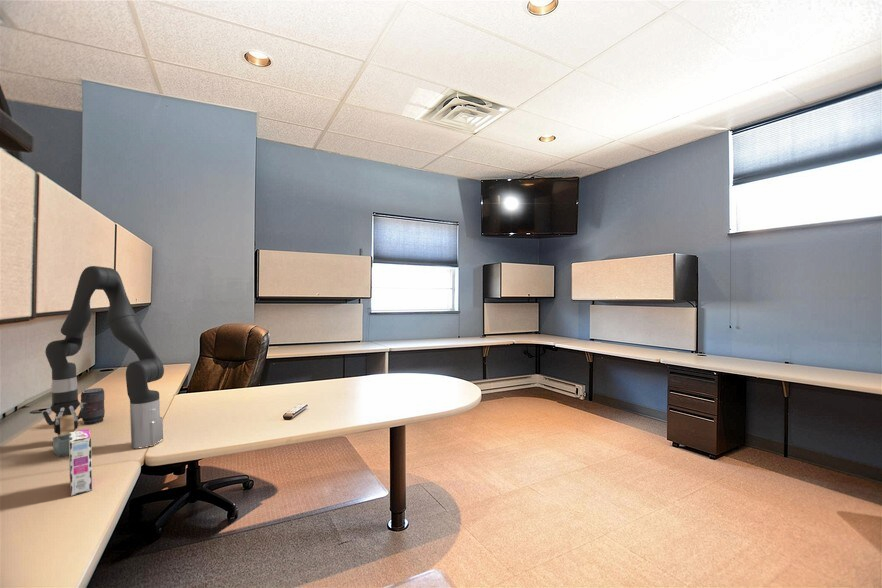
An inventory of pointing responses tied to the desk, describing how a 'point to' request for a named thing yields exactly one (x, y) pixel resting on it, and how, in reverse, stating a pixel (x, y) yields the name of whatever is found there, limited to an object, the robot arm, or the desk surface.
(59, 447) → the slate open square box
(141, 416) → the robot arm
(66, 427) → the tan wooden block
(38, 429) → the desk surface
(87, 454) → the candy bar box
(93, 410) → the camera lens
